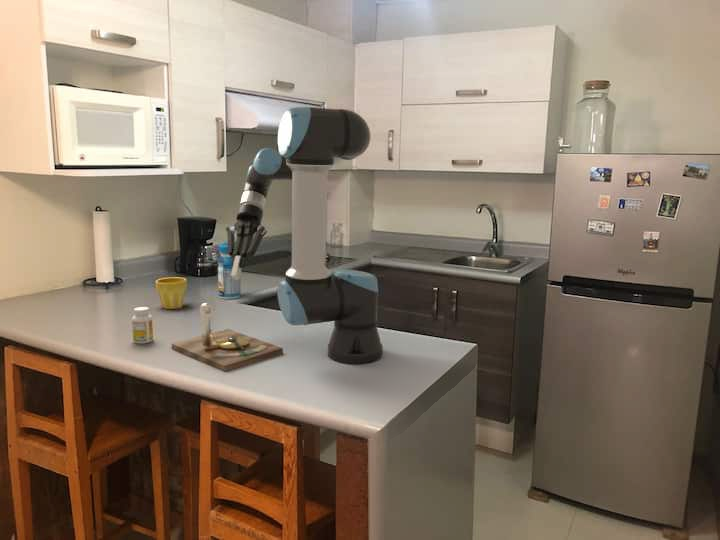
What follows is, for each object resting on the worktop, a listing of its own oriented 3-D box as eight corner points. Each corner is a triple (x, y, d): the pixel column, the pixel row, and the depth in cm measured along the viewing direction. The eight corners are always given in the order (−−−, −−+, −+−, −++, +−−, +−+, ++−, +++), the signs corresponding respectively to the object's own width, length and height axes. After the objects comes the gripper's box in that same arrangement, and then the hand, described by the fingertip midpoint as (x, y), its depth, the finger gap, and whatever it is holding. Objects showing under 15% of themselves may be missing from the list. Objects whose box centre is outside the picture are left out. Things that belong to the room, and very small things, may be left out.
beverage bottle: (233, 300, 216) (231, 247, 212) (214, 298, 219) (212, 245, 215) (245, 295, 224) (244, 244, 220) (226, 293, 227) (224, 242, 223)
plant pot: (157, 304, 209) (155, 277, 207) (187, 302, 212) (186, 276, 210) (156, 311, 199) (155, 283, 197) (188, 309, 202) (187, 282, 201)
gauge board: (282, 353, 160) (282, 347, 159) (225, 371, 146) (224, 364, 145) (228, 333, 176) (228, 328, 176) (171, 348, 162) (171, 342, 162)
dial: (253, 339, 166) (252, 296, 163) (244, 354, 153) (243, 308, 151) (208, 338, 166) (207, 295, 163) (196, 354, 153) (194, 307, 151)
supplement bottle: (146, 336, 172) (144, 305, 170) (156, 340, 169) (155, 308, 167) (129, 341, 168) (127, 308, 166) (139, 345, 165) (137, 312, 163)
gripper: (275, 215, 181) (260, 283, 171) (237, 216, 185) (220, 283, 174) (266, 201, 175) (250, 271, 164) (227, 203, 178) (209, 271, 168)
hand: (235, 277), depth 169 cm, fingers closed
